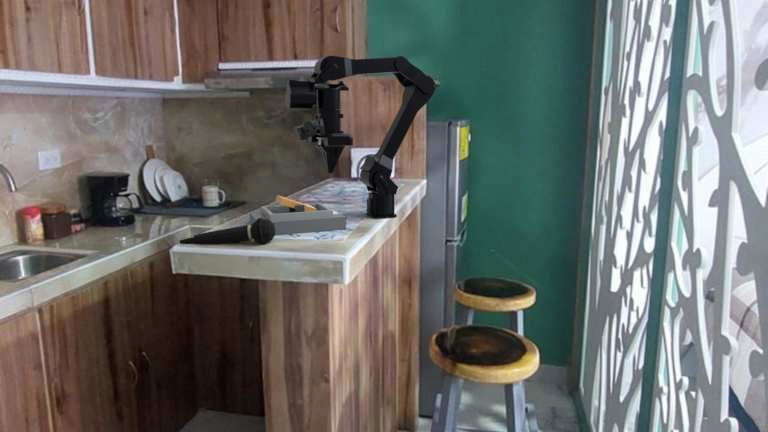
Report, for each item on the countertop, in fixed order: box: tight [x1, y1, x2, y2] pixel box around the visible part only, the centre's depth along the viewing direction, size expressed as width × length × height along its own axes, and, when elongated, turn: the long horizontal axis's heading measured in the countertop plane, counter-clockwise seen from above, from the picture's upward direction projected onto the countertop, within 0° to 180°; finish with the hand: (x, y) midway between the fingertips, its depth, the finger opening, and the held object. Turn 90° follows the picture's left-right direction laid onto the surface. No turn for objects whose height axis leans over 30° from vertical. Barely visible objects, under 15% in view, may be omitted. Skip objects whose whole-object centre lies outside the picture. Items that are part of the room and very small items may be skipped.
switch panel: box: [248, 199, 347, 236], centre depth 124 cm, size 20×14×6 cm
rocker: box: [275, 194, 317, 212], centre depth 124 cm, size 9×5×2 cm, turn 113°
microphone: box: [179, 218, 276, 245], centre depth 109 cm, size 6×6×20 cm
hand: (330, 173), depth 131 cm, fingers closed
